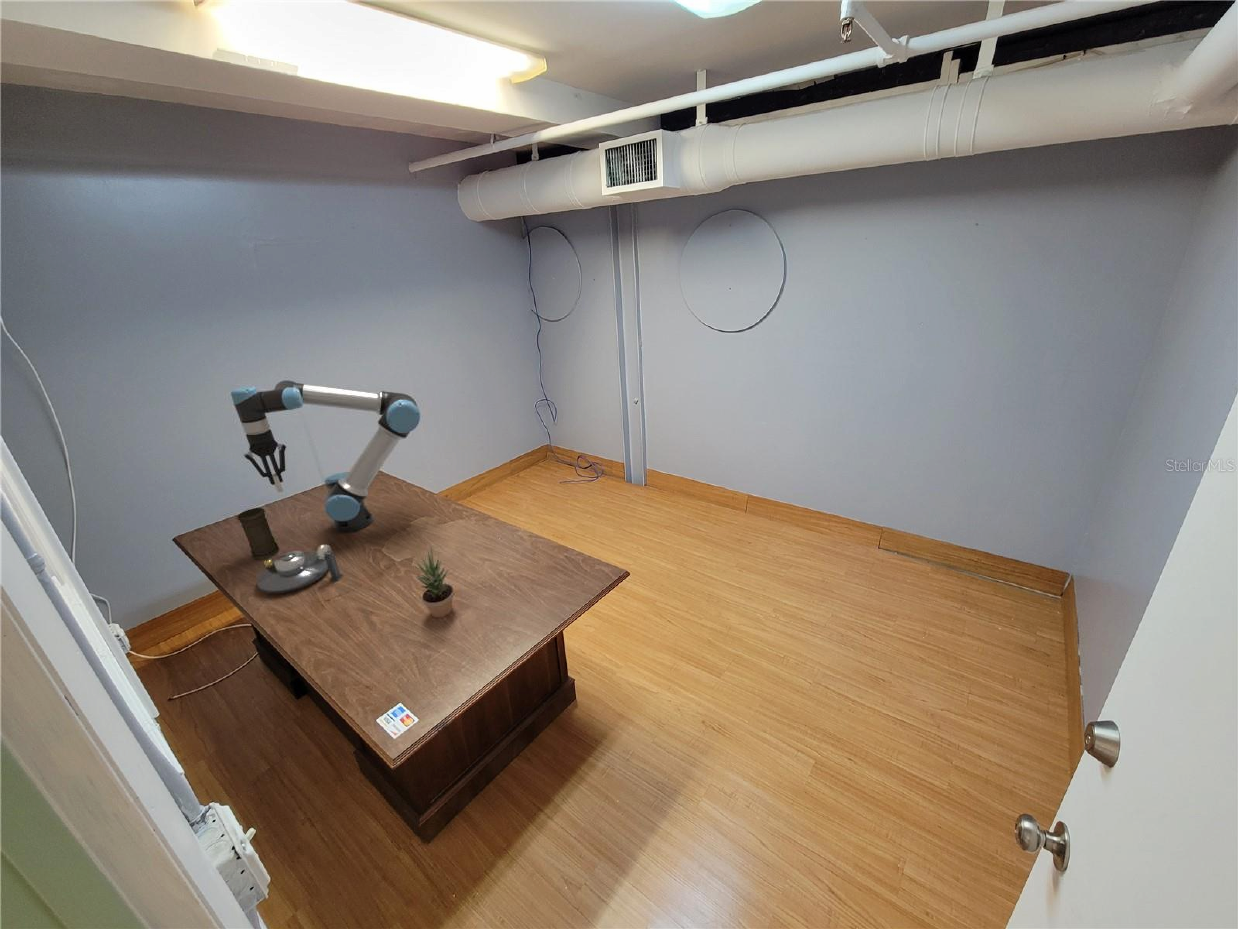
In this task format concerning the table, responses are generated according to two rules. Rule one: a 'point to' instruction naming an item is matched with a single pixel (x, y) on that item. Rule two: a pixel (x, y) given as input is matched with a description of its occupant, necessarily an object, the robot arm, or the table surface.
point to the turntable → (276, 584)
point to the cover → (290, 564)
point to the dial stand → (329, 561)
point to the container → (258, 533)
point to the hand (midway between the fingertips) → (280, 491)
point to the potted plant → (436, 588)
